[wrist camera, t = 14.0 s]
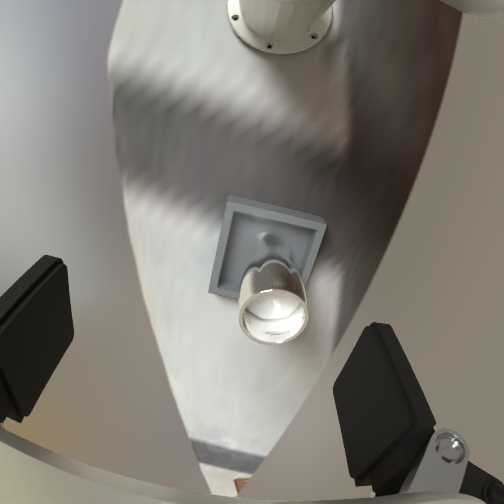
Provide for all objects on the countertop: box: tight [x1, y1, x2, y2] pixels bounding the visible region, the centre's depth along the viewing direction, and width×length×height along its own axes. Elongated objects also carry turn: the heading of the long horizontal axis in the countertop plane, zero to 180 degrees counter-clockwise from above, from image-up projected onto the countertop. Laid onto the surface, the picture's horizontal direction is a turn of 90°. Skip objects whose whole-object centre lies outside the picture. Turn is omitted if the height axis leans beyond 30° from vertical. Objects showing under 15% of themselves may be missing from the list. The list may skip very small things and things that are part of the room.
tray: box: [208, 195, 327, 299], centre depth 43 cm, size 13×12×3 cm
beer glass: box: [238, 231, 308, 345], centre depth 37 cm, size 7×7×15 cm
